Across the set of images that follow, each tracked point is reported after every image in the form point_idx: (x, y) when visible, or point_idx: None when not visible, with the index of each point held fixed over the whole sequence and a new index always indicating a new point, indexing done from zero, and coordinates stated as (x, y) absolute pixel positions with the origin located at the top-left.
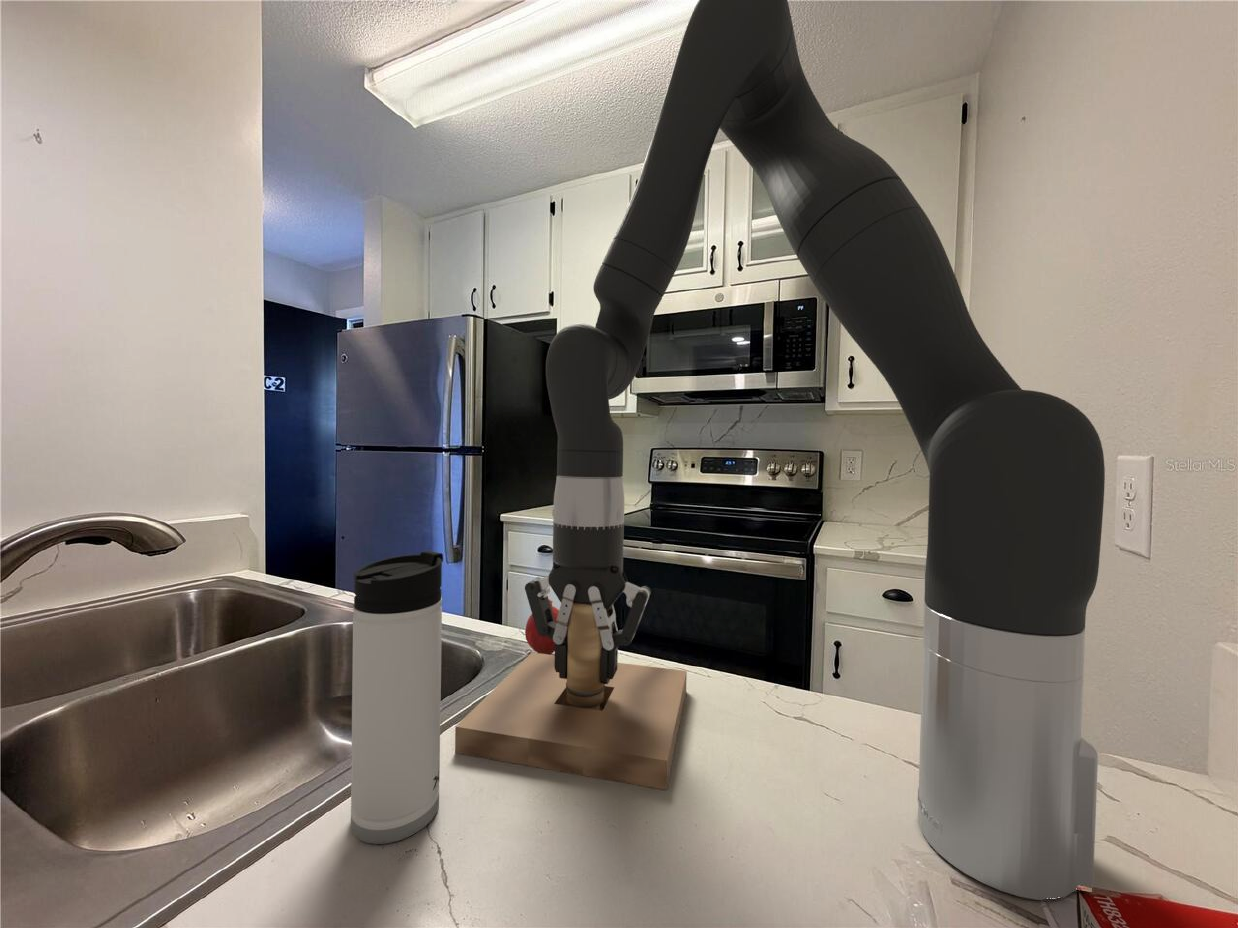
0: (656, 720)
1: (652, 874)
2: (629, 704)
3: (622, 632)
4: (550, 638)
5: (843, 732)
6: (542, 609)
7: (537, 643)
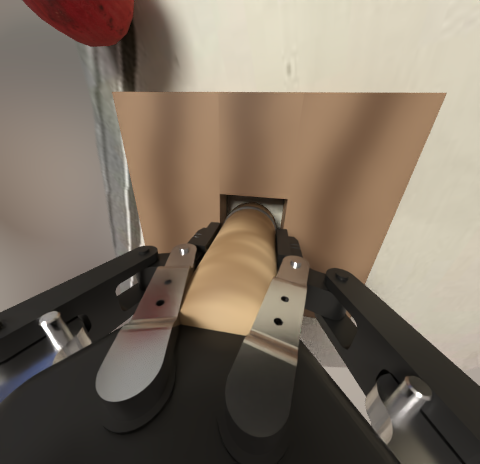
0: (345, 269)
1: (322, 351)
2: (311, 240)
3: (324, 329)
4: (109, 28)
5: None
6: (117, 322)
7: (96, 45)
